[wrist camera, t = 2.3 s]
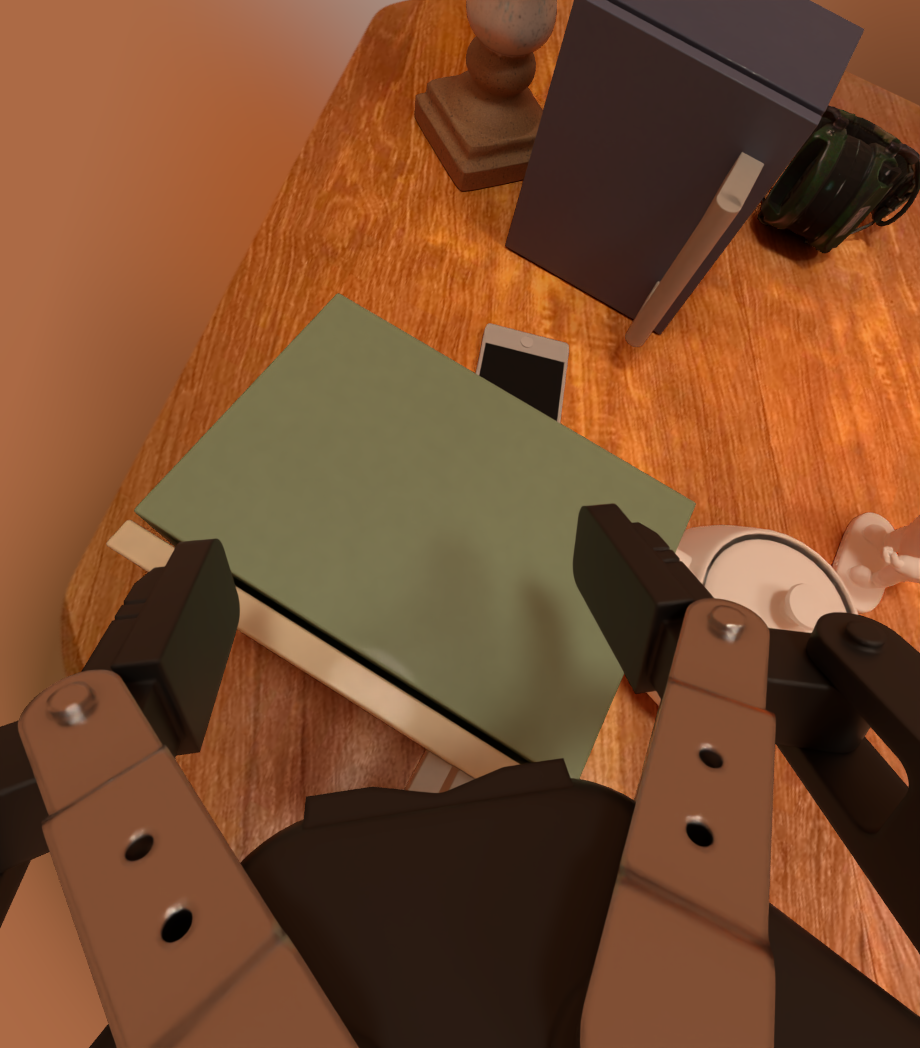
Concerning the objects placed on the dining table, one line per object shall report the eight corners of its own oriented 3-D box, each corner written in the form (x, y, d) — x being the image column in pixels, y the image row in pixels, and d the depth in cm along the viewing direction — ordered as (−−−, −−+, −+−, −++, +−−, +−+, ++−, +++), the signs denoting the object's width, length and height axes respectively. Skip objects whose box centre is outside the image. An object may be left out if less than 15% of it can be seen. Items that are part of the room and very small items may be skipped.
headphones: (931, 260, 47) (919, 169, 57) (941, 90, 39) (925, 19, 49) (761, 301, 55) (777, 215, 65) (740, 168, 47) (762, 94, 57)
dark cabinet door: (635, 379, 44) (792, 179, 28) (473, 285, 45) (531, 36, 28) (664, 327, 47) (822, 116, 30) (509, 239, 47) (582, -14, 31)
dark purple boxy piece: (664, 327, 47) (825, 111, 30) (510, 239, 48) (585, -19, 31) (703, 254, 51) (865, 29, 34) (561, 174, 52) (652, -84, 35)
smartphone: (566, 350, 44) (570, 342, 43) (545, 517, 38) (549, 512, 37) (484, 329, 43) (486, 321, 43) (450, 495, 38) (452, 490, 37)
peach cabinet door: (410, 870, 29) (457, 1063, 13) (174, 718, 30) (-61, 719, 14) (469, 755, 32) (571, 795, 16) (250, 617, 33) (127, 517, 16)
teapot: (526, 639, 35) (587, 607, 25) (609, 487, 40) (687, 410, 30) (815, 824, 34) (1000, 868, 24) (863, 642, 39) (1032, 617, 29)
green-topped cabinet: (471, 751, 32) (576, 788, 15) (254, 614, 33) (131, 510, 16) (548, 601, 36) (697, 502, 20) (353, 483, 37) (337, 291, 20)
